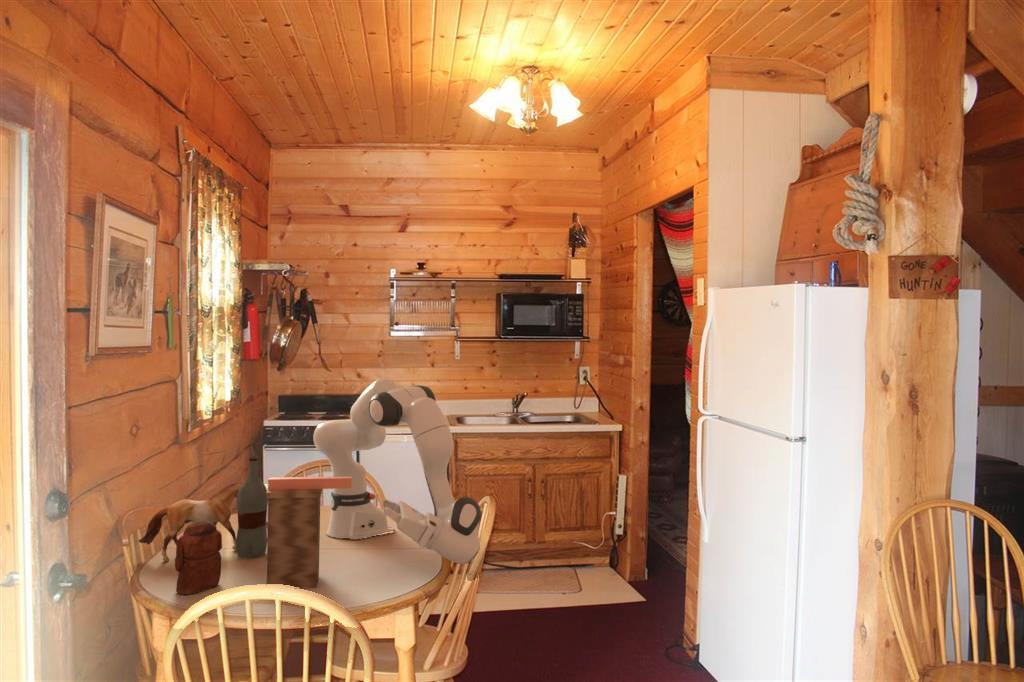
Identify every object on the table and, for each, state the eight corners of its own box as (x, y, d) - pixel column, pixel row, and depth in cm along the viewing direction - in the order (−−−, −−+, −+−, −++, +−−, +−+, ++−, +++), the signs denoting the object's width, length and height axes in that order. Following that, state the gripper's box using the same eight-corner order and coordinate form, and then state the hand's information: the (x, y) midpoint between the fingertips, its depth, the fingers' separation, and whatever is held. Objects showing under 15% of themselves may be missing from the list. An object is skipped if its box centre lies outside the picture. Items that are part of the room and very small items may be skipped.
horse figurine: (245, 544, 239) (246, 480, 239) (251, 551, 232) (253, 485, 232) (137, 559, 222) (139, 490, 222) (141, 566, 215) (142, 495, 215)
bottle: (240, 550, 233) (241, 454, 232) (270, 550, 234) (272, 454, 233) (231, 559, 223) (233, 459, 223) (263, 559, 224) (265, 459, 224)
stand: (320, 575, 211) (322, 484, 210) (318, 588, 201) (320, 491, 201) (268, 578, 208) (270, 484, 208) (264, 590, 198) (266, 492, 198)
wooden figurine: (207, 580, 205) (208, 515, 205) (223, 584, 202) (224, 518, 202) (169, 593, 194) (171, 524, 194) (186, 598, 191) (187, 528, 191)
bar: (351, 486, 208) (351, 476, 208) (351, 488, 206) (351, 478, 206) (269, 487, 204) (269, 477, 204) (267, 489, 201) (268, 479, 201)
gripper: (428, 510, 222) (388, 487, 219) (435, 528, 202) (391, 504, 199) (417, 528, 221) (377, 506, 219) (423, 549, 201) (378, 524, 199)
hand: (383, 505), depth 209 cm, fingers open, 8 cm apart
